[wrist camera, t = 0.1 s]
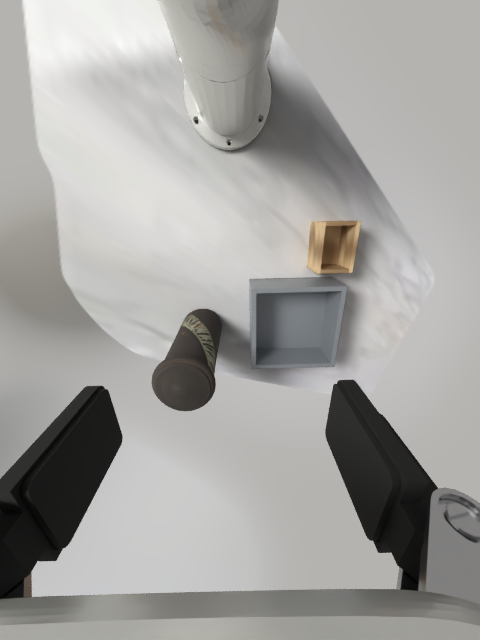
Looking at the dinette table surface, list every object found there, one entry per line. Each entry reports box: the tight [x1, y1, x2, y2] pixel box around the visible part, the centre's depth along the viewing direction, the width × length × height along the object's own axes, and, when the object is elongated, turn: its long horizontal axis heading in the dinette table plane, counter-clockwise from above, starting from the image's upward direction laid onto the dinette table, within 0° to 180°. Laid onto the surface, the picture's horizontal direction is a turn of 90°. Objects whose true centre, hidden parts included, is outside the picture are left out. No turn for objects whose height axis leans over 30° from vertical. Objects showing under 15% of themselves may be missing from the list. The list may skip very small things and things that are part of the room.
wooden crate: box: [307, 221, 361, 274], centre depth 40 cm, size 8×6×6 cm
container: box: [152, 309, 222, 411], centre depth 39 cm, size 9×9×20 cm
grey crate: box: [249, 277, 348, 369], centre depth 44 cm, size 16×16×7 cm
